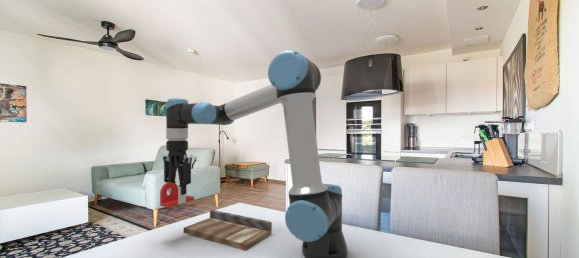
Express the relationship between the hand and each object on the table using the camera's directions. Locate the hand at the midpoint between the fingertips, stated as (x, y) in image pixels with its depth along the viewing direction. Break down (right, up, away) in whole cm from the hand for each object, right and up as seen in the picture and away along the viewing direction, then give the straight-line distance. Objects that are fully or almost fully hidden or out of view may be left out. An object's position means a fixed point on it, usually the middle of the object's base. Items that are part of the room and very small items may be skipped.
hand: (177, 202), depth 97 cm
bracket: (0, 0, 0) cm, 1 cm away
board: (+17, -14, +7) cm, 23 cm away
